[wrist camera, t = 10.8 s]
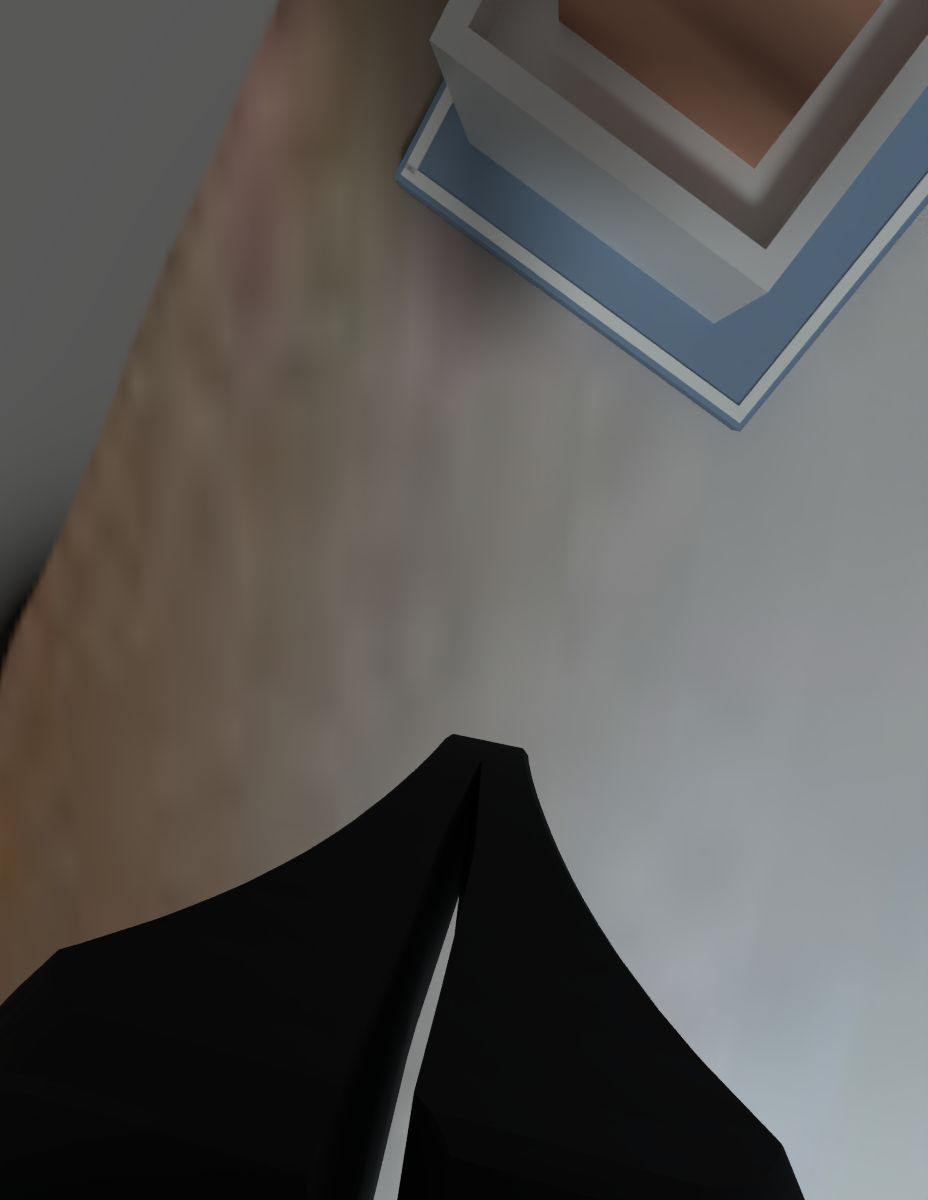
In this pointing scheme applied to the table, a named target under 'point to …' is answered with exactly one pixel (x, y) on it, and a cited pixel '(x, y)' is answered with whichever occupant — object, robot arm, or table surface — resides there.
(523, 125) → the socket pedestal
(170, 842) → the table surface
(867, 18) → the terracotta block
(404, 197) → the table surface
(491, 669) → the table surface
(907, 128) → the board
